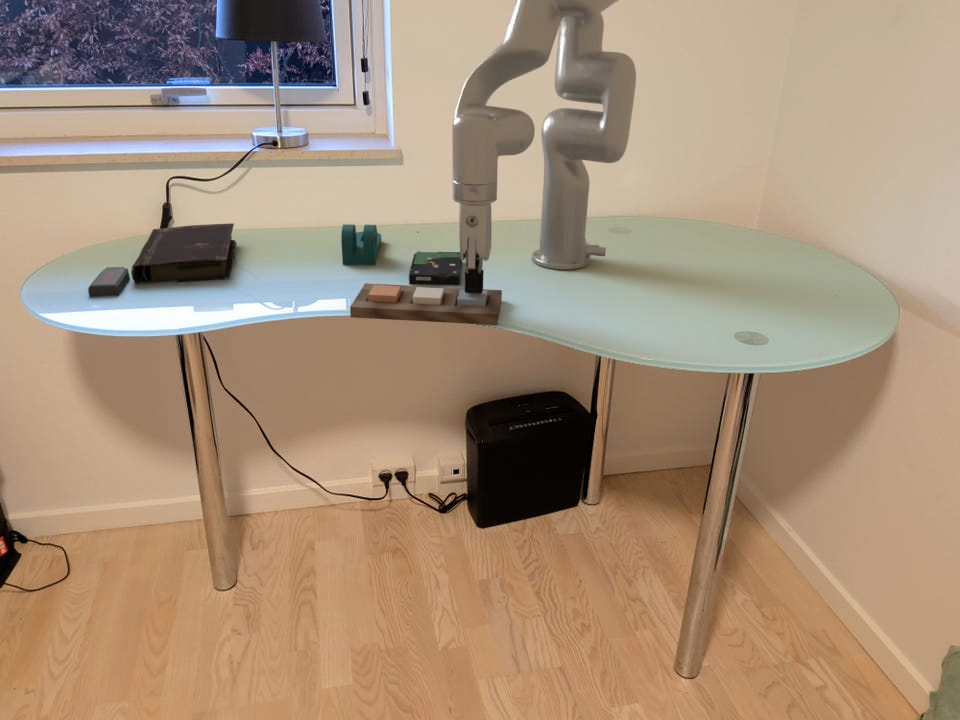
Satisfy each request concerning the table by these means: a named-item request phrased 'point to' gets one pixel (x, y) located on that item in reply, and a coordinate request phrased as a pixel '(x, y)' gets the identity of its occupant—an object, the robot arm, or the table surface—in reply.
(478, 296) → the slate button
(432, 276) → the disk drive
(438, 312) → the panel
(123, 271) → the dark grey block
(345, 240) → the bracket
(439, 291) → the white button
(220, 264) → the diary
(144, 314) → the table surface
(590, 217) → the table surface
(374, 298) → the terracotta button
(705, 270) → the table surface
